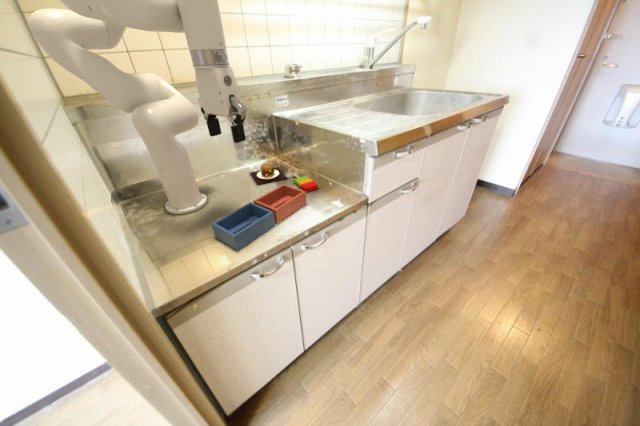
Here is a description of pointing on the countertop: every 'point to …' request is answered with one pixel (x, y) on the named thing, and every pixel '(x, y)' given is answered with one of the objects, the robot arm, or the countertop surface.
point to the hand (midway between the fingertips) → (227, 138)
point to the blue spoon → (244, 224)
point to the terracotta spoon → (281, 202)
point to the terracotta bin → (288, 206)
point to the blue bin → (249, 232)
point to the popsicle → (305, 183)
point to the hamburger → (267, 174)
